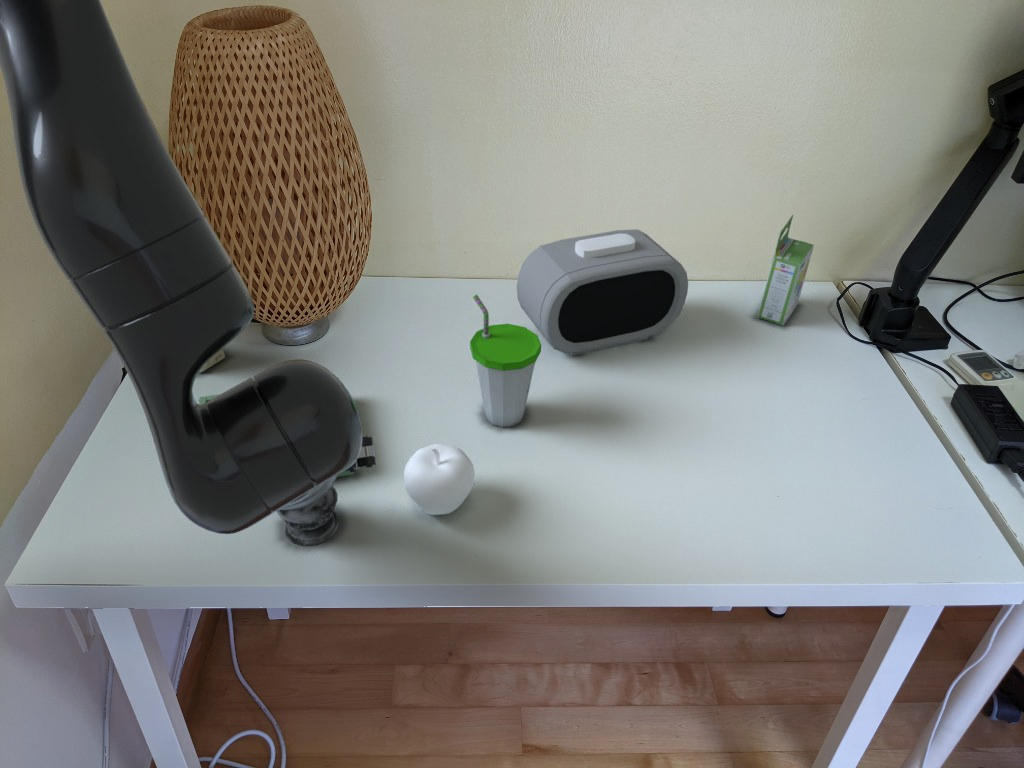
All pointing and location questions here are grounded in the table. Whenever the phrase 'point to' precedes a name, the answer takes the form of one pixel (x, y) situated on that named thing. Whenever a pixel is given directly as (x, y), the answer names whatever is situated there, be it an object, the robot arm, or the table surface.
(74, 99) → the robot arm
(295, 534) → the chess piece
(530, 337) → the cup
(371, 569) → the table surface
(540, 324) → the alarm clock
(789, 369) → the table surface
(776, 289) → the ink box
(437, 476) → the plain white apple
